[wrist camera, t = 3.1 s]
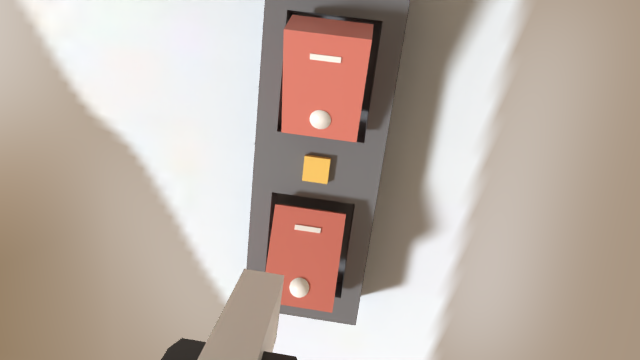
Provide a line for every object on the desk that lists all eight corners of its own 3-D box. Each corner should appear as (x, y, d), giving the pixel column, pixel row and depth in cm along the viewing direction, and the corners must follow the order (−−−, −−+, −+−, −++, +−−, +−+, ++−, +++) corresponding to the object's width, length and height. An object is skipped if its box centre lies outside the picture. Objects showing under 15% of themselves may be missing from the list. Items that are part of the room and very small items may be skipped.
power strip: (284, -95, 25) (271, -119, 22) (418, -82, 25) (428, -104, 21) (255, 281, 34) (242, 311, 30) (356, 297, 33) (355, 328, 29)
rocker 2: (280, 203, 29) (274, 204, 26) (345, 212, 28) (345, 214, 26) (267, 292, 28) (260, 301, 26) (333, 302, 28) (332, 312, 26)
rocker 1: (292, 14, 23) (283, 29, 21) (373, 24, 23) (371, 40, 21) (289, 112, 27) (281, 133, 25) (358, 121, 26) (356, 143, 24)
